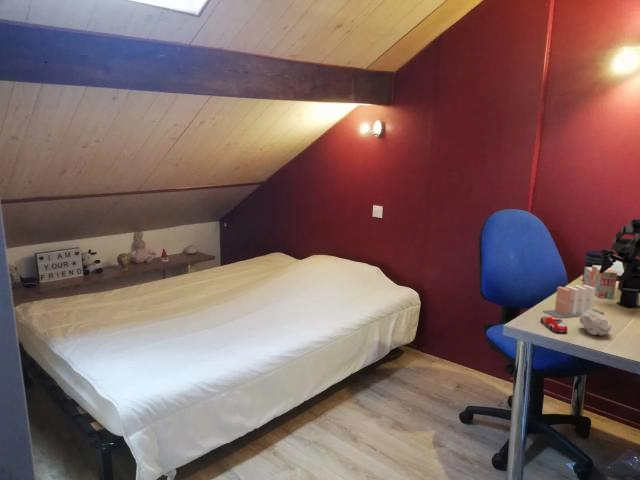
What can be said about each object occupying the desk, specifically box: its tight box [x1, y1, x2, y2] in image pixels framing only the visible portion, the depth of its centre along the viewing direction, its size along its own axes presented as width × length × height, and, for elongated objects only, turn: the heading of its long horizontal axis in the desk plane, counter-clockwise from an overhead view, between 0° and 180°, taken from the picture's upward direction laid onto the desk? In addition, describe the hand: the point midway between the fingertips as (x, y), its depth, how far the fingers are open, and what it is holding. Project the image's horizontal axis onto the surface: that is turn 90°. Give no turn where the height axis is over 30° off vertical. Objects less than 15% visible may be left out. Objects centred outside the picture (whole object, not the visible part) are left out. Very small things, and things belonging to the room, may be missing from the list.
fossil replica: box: [579, 309, 612, 336], centre depth 166 cm, size 12×8×10 cm
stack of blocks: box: [582, 265, 618, 300], centre depth 217 cm, size 21×6×12 cm, turn 168°
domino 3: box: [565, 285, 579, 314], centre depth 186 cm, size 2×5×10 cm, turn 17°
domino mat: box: [543, 308, 604, 319], centre depth 188 cm, size 22×8×1 cm, turn 107°
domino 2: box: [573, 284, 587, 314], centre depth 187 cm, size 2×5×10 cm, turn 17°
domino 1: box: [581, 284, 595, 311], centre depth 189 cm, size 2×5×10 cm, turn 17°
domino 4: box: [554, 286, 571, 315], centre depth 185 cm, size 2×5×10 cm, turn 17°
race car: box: [540, 315, 569, 334], centre depth 171 cm, size 13×5×4 cm, turn 177°
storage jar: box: [581, 250, 603, 282], centre depth 233 cm, size 10×10×15 cm
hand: (609, 276), depth 190 cm, fingers open, 9 cm apart
